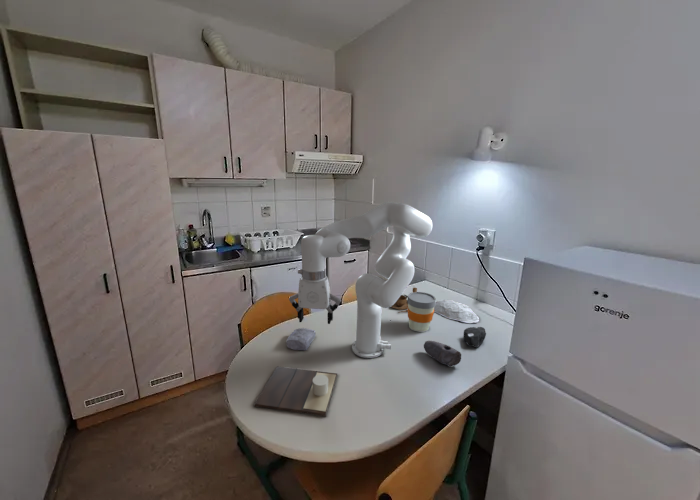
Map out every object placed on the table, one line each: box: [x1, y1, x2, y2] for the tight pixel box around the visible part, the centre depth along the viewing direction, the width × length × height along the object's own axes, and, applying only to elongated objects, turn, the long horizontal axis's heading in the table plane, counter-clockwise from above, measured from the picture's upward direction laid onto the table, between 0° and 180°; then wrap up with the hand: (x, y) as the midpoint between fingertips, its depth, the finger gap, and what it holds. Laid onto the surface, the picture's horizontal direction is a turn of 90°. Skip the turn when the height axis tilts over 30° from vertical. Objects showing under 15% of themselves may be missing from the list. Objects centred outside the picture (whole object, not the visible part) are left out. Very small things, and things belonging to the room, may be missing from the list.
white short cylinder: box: [313, 375, 328, 396], centre depth 95 cm, size 5×5×4 cm
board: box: [254, 365, 338, 417], centre depth 97 cm, size 22×18×1 cm
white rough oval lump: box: [434, 299, 480, 324], centre depth 152 cm, size 16×25×7 cm, turn 45°
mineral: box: [463, 326, 487, 348], centre depth 126 cm, size 10×9×6 cm
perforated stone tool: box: [423, 340, 462, 368], centre depth 113 cm, size 15×5×7 cm, turn 40°
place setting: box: [390, 287, 418, 314], centre depth 160 cm, size 18×20×6 cm
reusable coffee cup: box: [406, 291, 436, 333], centre depth 136 cm, size 13×13×15 cm
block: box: [285, 327, 316, 351], centre depth 123 cm, size 12×5×10 cm
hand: (315, 321), depth 101 cm, fingers open, 9 cm apart
